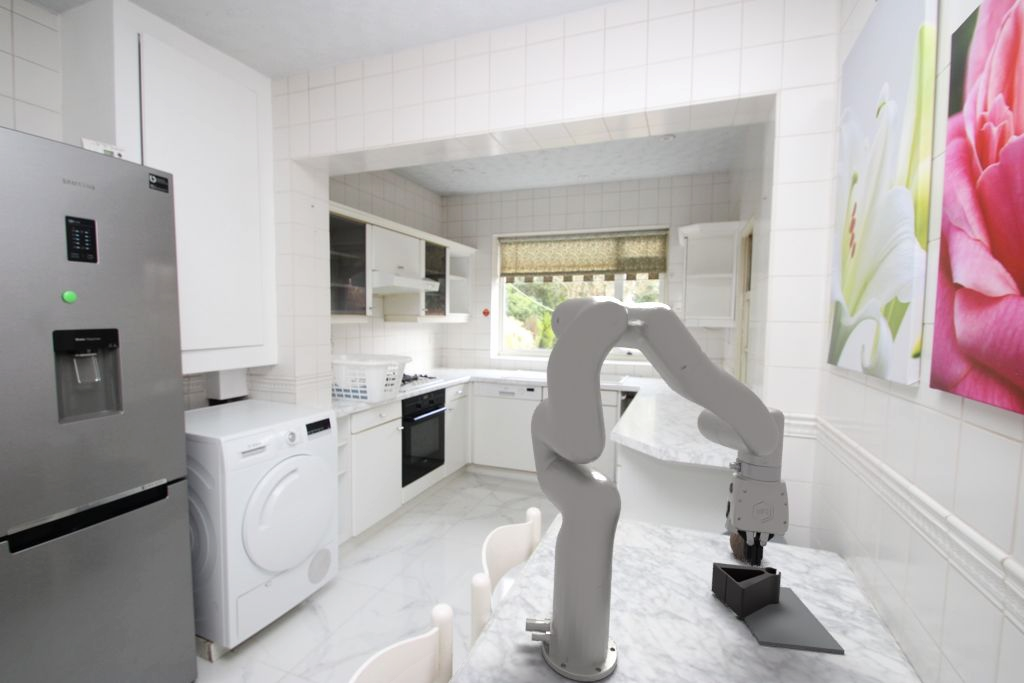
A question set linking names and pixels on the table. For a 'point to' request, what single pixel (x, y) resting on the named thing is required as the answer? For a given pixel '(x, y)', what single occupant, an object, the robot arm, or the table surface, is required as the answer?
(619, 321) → the robot arm
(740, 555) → the vase
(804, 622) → the mat
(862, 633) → the table surface
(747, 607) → the phone stand
